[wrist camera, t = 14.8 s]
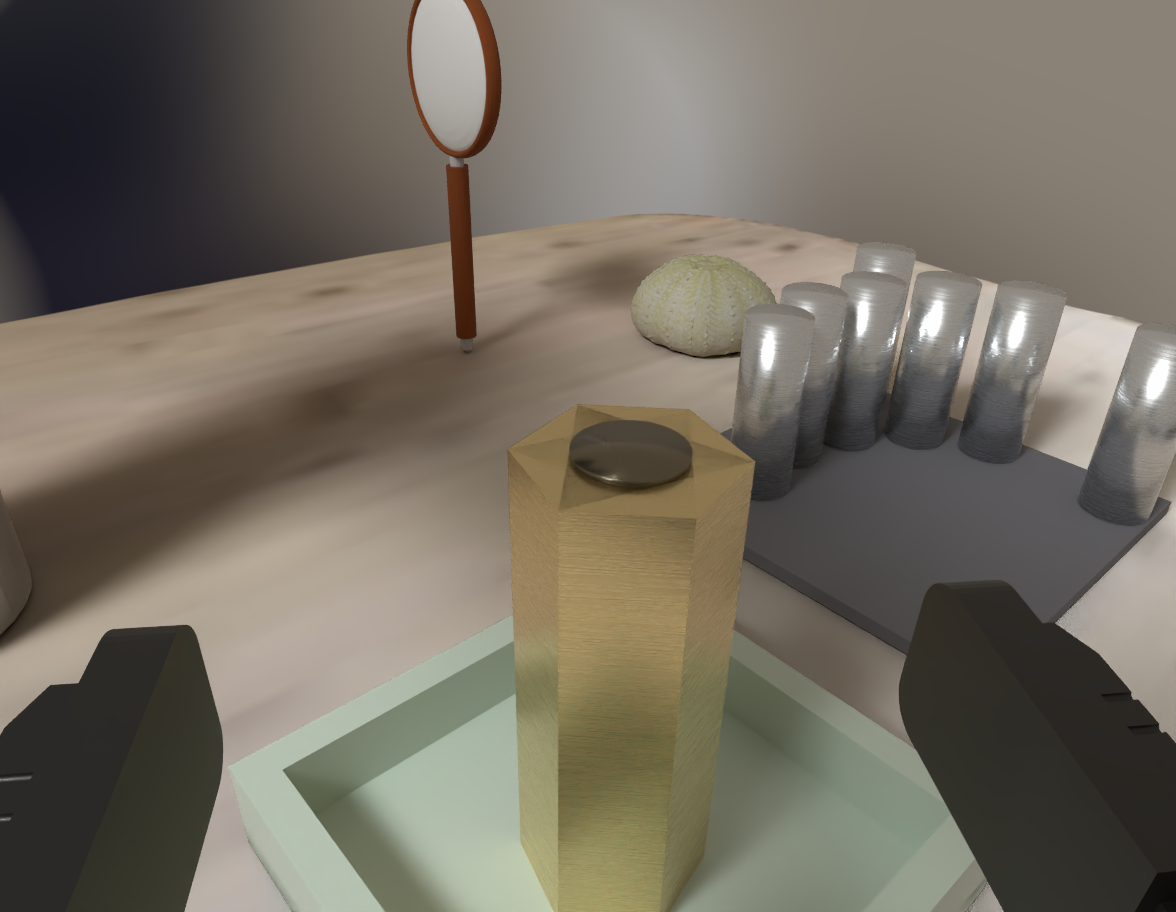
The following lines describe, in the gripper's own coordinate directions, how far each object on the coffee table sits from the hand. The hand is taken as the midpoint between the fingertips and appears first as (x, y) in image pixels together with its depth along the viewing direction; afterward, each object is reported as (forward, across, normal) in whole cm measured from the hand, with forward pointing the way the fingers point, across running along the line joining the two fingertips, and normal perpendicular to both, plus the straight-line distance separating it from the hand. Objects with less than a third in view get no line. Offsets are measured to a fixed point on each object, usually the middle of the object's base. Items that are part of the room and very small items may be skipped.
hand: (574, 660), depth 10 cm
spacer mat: (+24, -17, +15) cm, 33 cm away
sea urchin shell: (+44, -13, +16) cm, 48 cm away
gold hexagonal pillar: (+7, -2, +14) cm, 16 cm away
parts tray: (+7, -2, +15) cm, 16 cm away
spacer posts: (+24, -19, +14) cm, 34 cm away
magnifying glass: (+42, +2, +16) cm, 45 cm away
